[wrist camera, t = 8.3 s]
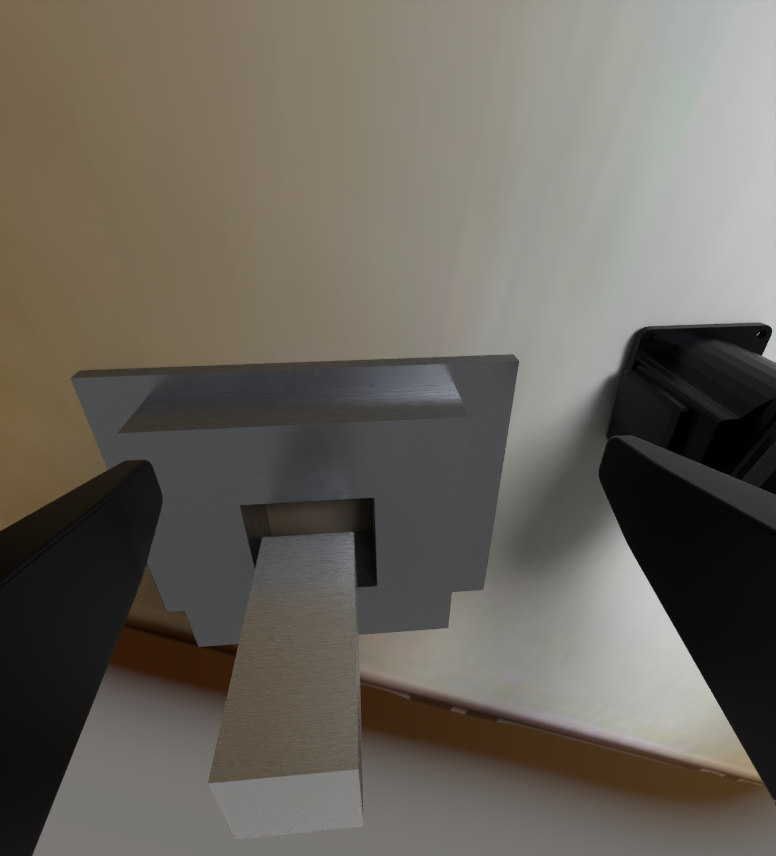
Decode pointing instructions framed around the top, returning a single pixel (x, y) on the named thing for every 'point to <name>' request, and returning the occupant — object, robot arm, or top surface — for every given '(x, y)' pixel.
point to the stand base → (314, 473)
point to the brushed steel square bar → (294, 695)
